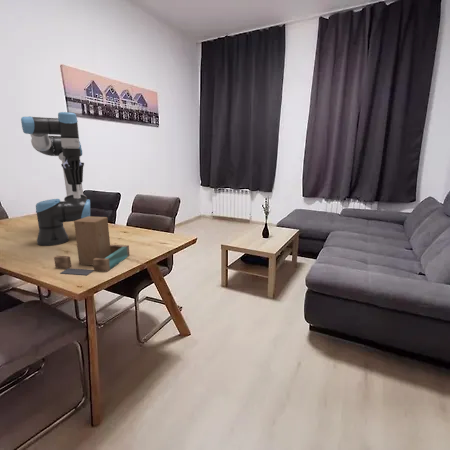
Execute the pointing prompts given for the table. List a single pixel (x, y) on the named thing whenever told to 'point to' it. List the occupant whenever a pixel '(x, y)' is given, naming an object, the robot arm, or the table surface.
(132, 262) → the table surface
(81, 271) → the mat
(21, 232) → the table surface
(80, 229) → the wooden block
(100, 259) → the brown u-shaped piece
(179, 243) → the table surface
